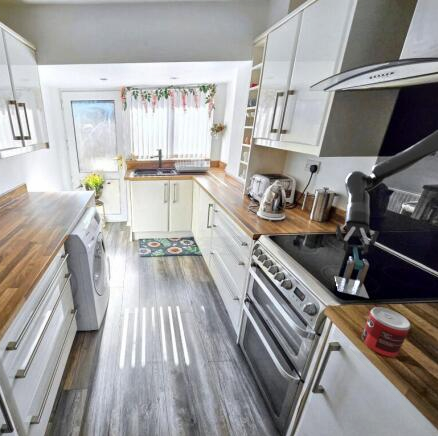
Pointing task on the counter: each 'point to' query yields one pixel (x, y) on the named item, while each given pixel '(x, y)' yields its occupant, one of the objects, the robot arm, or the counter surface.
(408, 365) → the counter surface
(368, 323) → the canned food
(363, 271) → the bracket
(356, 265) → the lever
